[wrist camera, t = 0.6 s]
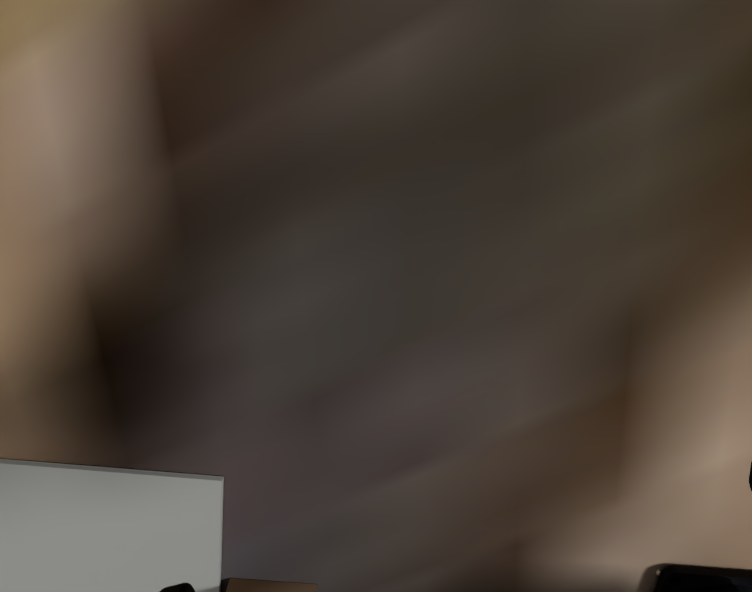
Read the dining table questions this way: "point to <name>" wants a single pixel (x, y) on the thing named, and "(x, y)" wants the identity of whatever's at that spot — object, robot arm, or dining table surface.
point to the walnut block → (267, 586)
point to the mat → (107, 529)
